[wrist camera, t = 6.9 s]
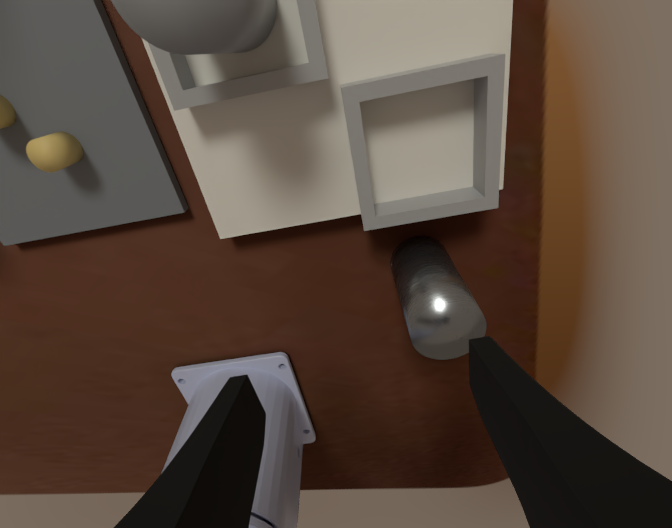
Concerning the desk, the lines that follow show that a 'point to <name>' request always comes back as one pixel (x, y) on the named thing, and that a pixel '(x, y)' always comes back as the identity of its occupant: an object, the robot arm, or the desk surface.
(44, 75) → the tile
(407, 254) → the pin
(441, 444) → the desk surface
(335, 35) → the build board
